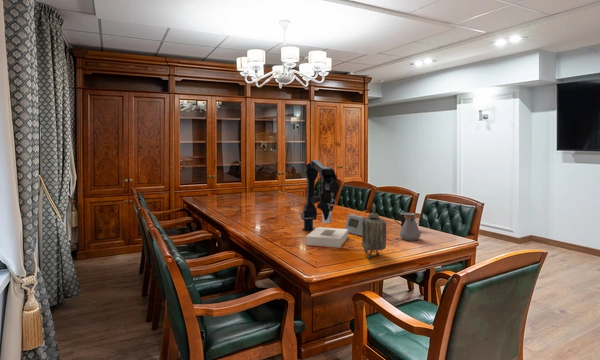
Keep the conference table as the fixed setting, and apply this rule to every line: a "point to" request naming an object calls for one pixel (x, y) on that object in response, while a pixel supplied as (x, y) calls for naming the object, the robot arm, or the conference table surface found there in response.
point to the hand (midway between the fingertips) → (326, 219)
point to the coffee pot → (410, 229)
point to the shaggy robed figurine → (373, 233)
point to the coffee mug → (403, 217)
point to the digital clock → (354, 224)
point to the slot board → (327, 237)
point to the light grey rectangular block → (327, 218)
